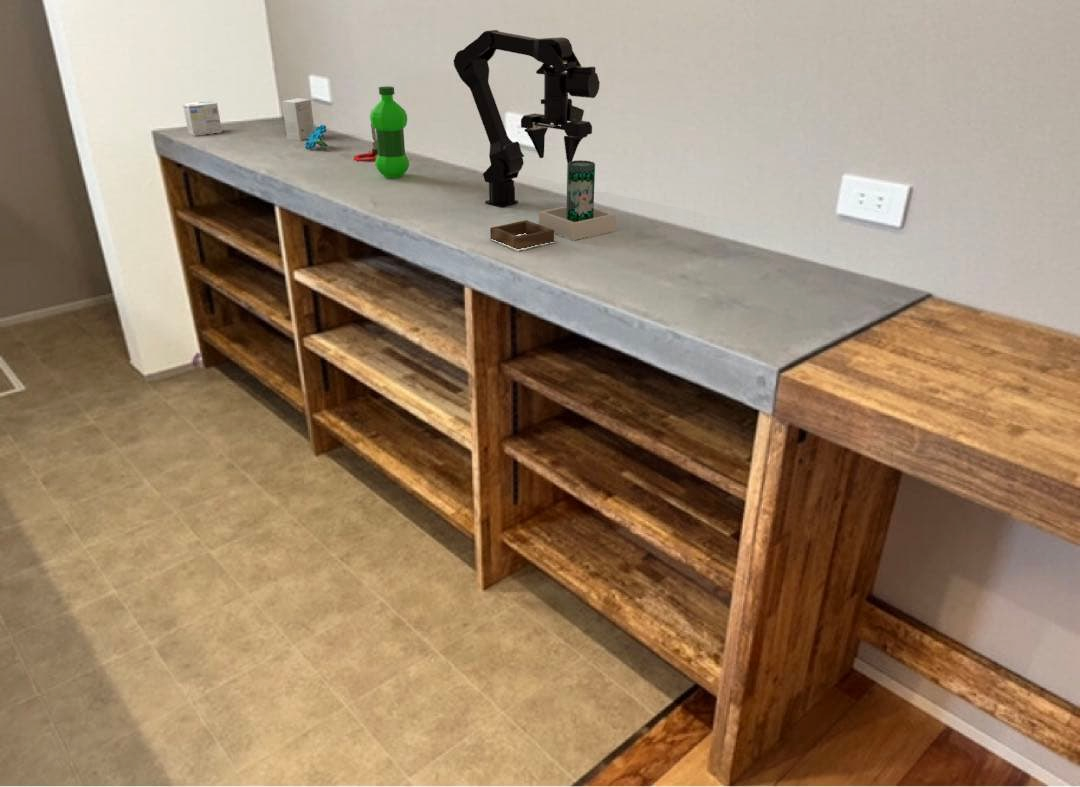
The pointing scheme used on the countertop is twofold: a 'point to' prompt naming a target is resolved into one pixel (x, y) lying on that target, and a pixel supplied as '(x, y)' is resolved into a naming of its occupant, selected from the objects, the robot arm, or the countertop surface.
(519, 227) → the holder
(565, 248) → the countertop surface
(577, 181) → the can
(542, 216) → the bin
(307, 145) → the blue flower bunch
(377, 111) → the plastic bottle
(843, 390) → the countertop surface
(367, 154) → the tow hook
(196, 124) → the light bulb box
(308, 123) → the small box
